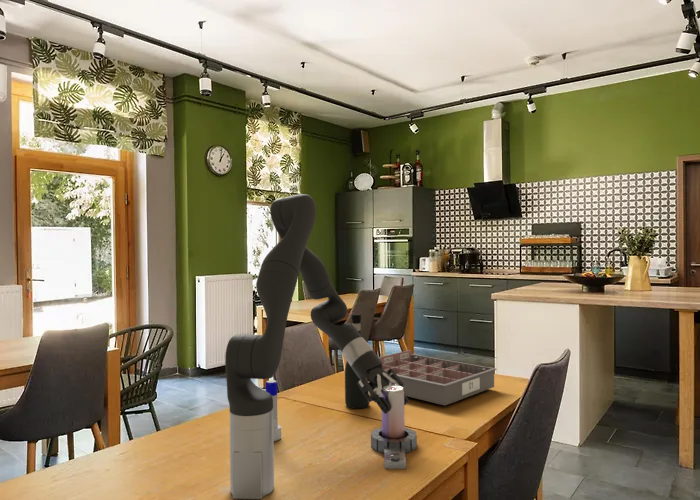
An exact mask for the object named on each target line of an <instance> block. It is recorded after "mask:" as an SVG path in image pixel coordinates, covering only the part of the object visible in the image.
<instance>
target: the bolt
mask: <svg viewBox="0 0 700 500" xmlns="http://www.w3.org/2000/svg"><path fill="white" fill-rule="evenodd" d="M265 391H266V392H268V393H270V394H271V395H272V397H273V442H277V441H279V440H281V438H282V425H280V424H278V423H279V422H278V421H279V420H278V419H279V418H278V415H279V413H278V381H277V380H275V379H271V380H269V379H268V380H267V381H266V382H265Z"/></svg>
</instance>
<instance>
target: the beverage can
mask: <svg viewBox="0 0 700 500" xmlns="http://www.w3.org/2000/svg"><path fill="white" fill-rule="evenodd" d="M381 394H382V397H384V399H385V400H386V402H387V403H388V404H389V406H390V407H391V410H390V411H389V412H388V413H386V414H385V413H384V412H383V411H382V410H381V427H382V438H386V439H403V438H405V428H406V426H405V422H406V421H405V420H406V419H405V405H404V391H403V387H401V386H395V385H389V386H385V387H383V388H382V390H381Z"/></svg>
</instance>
